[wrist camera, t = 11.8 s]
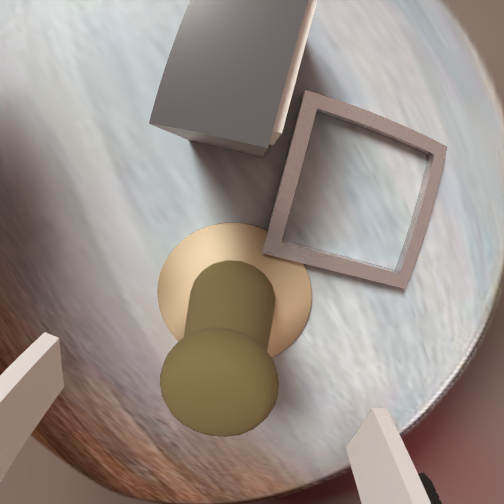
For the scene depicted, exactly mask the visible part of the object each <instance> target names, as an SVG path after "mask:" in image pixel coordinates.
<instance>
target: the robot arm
mask: <svg viewBox="0 0 504 504" xmlns="http://www.w3.org/2000/svg"><path fill="white" fill-rule="evenodd" d="M63 388H64V381H63V373H62V364H61V354H60V342H59V338H58V337H55V336H53V335H50V334H48V333H46V332H44V333H43V334H42V335H41V336H40V337H39V338H38V339H37V340H36V341H35V342H34V343H33V344H31V345H30V346H29V347H28V348H27V349H26V350H25V351H24V352H23V353H22V354H21V355H20V356H19V357H18V358H17V359H16V360H15V361H14V362H13V363H12V364H11V365H10V366H9V367H8V368H7V369H6V370H5V371H4V372H3V373H2V374H1V375H0V482H1V480H2V479H3V477H4V475H5V474H6V472H7V470H8V469H9V467H10V466H11V464H12V462H13V461H14V459H15V458H16V456H17V455H18V453H19V452H20V450H21V449H22V447H23V445H24V444H25V442H26V441H27V439H28V438H29V436H30V435H31V434H32V432H33V431H34V429H35V428H36V426H37V425H38V423H39V422H40V420H41V419H42V417H43V416H44V415H45V413H46V412H47V410H48V409H49V408H50V406H51V405H52V403H53V402H54V400H55V399H56V398H57V396H58V395H59V394H60V392H61V391H62V389H63ZM346 451H347V454H348V458H349V461H350V464H351V468H352V471H353V475H354V478H355V482H356V485H357V489H358V492H359V495H360V499H361V503H362V504H442V503H441V501H440V500H439V496H438V494H437V493H436V490H435V488H434V486H433V483H432V481H431V480H430V479H429V478H428V477H427V476H426V475H425V474H424V473H419V474H418V473H417V471H416V469H415V467H414V465H413V463H412V461H411V458H410V456H409V454H408V452H407V450H406V448H405V446H404V443H403V441H402V439H401V437H400V435H399V433H398V431H397V429H396V427H395V425H394V423H393V421H392V419H391V417H390V415H389V413H388V411H387V409H386V408H372V409H371V410H370V412H369V414H368V415H367V417H366V418H365V420H364V421H363V423H362V424H361V426H360V428H359V429H358V431H357V432H356V434H355V435H354V437H353V438H352V439H351V441H350V442H349V444H348V445H347V447H346Z"/></svg>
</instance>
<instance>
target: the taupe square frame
mask: <svg viewBox="0 0 504 504" xmlns="http://www.w3.org/2000/svg"><path fill="white" fill-rule="evenodd" d="M316 111H318V112H321V113H324V114H327V115H330V116H333V117H336V118H339V119H342V120H345V121H348V122H351V123H354V124H356V125H359V126H362V127H365V128H367V129H370V130H372V131H375V132H378V133H380V134H383V135H385V136H388V137H390V138H393V139H395V140H397V141H400V142H402V143H404V144H407V145H409V146H411V147H413V148H416V149H418V150H420V151H422V152H425V153H427V154H429V156H428V160H427V165H426V169H425V173H424V177H423V181H422V185H421V189H420V193H419V197H418V200H417V204H416V207H415V211H414V214H413V218H412V221H411V224H410V228H409V231H408V234H407V237H406V240H405V243H404V246H403V249H402V252H401V255H400V258H399V261H398V264H397V267H396V270H392V269H389V268H385V267H381V266H378V265H374V264H370V263H367V262H363V261H359V260H356V259H352V258H348V257H344V256H341V255H337V254H333V253H329V252H325V251H322V250H318V249H314V248H310V247H306V246H303V245H299V244H295V243H291V242H287V241H282V238H283V234H284V230H285V227H286V223H287V220H288V216H289V212H290V209H291V205H292V202H293V198H294V194H295V191H296V187H297V183H298V180H299V176H300V172H301V168H302V165H303V161H304V157H305V153H306V149H307V146H308V142H309V138H310V134H311V130H312V126H313V123H314V119H315V115H316ZM446 150H447V146H445V145H443V144H441V143H439V142H437V141H435V140H433V139H431V138H429V137H427V136H425V135H423V134H420V133H418V132H416V131H414V130H412V129H410V128H407V127H405V126H403V125H401V124H398V123H396V122H394V121H391V120H389V119H387V118H384V117H382V116H379V115H377V114H374V113H372V112H369V111H366V110H364V109H361V108H359V107H356V106H353V105H350V104H347V103H345V102H342V101H339V100H336V99H333V98H330V97H327V96H324V95H321V94H317V93H314V92H311V91H308V90H305V92H304V93H303V97H302V101H301V105H300V109H299V113H298V116H297V120H296V124H295V128H294V132H293V136H292V139H291V143H290V147H289V151H288V154H287V158H286V162H285V166H284V170H283V173H282V177H281V181H280V185H279V188H278V192H277V196H276V200H275V203H274V207H273V211H272V214H271V218H270V222H269V226H268V229H267V234H266V238H265V242H264V246H263V249H262V253H263V254H267V255H271V256H275V257H279V258H283V259H287V260H291V261H295V262H299V263H303V264H307V265H311V266H315V267H319V268H323V269H327V270H331V271H335V272H339V273H343V274H347V275H351V276H355V277H359V278H363V279H367V280H371V281H375V282H379V283H383V284H387V285H391V286H395V287H399V288H403V289H406V287H407V284H408V282H409V279H410V276H411V273H412V271H413V268H414V265H415V262H416V260H417V257H418V254H419V251H420V248H421V245H422V242H423V239H424V235H425V232H426V229H427V226H428V222H429V219H430V216H431V212H432V209H433V205H434V201H435V198H436V194H437V190H438V186H439V182H440V178H441V173H442V169H443V165H444V160H445V155H446Z"/></svg>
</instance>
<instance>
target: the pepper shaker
mask: <svg viewBox="0 0 504 504" xmlns="http://www.w3.org/2000/svg"><path fill="white" fill-rule="evenodd" d="M275 298H276V297H275V293H274V290H273V286H272V284H271V282H270V281H269V279H268V278H267V277H266V275H265V274H264V273H263V272H261V271H260V270H259V269H258V268H256V267H255V266H253V265H251V264H248V263H245V262H242V261H232V260H226V261H222V262H218V263H214V264H212V265H210V266H209V267H207V268H206V269H204V270H203V271H202V272H201V273H200V274H199V275H198V277H197V278H196V279H195V281H194V283H193V286H192V289H191V292H190V298H189V304H188V311H187V317H186V324H185V331H184V338H182V339H181V340H180V341H179V342H178V343H177V344H176V345H175V346H174V347H173V349H172V350H171V351H170V352H169V353H168V355H167V357H166V359H165V361H164V364H163V368H162V371H161V375H160V385H161V392H162V397H163V399H164V401H165V403H166V405H167V407H168V408H169V410H170V412H171V414H172V415H173V416H174V417H175V418H176V419H177V420H178V421H180V422H181V423H182V424H183V425H185V426H187V427H189V428H190V429H192V430H194V431H197V432H200V433H203V434H207V435H211V436H224V437H226V436H233V435H240V434H242V433H245V432H247V431H250V430H252V429H254V428H255V427H256V426H258V425H259V424H260V423H261V422H263V421H264V420H265V419H266V418H267V417H268V415H269V414H270V412H271V410H272V409H273V407H274V405H275V403H276V399H277V394H278V386H279V382H278V375H277V372H276V368H275V365H274V362H273V360H272V358H271V357H270V355H269V354H268V353H267V350H268V344H269V339H270V333H271V327H272V322H273V316H274V310H275Z"/></svg>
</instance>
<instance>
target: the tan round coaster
mask: <svg viewBox="0 0 504 504" xmlns="http://www.w3.org/2000/svg"><path fill="white" fill-rule="evenodd" d="M266 234H267V230H265V229H263V228H260V227H257V226H254V225H249V224H244V223H220V224H216V225H211V226H208V227H205V228H203V229H200V230H198V231H196V232H194V233H192V234H191V235H189V236H188V237H186V238H185V239H184V240H182V241H181V242H180V243H179V244H178V245H177V246H176V247H175V248H174V249H173V251H172V252H171V253H170V255H169V256H168V258H167V259H166V261H165V263H164V265H163V268H162V270H161V273H160V277H159V281H158V303H159V308H160V311H161V314H162V317H163V320H164V322H165V324H166V326H167V327H168V329H169V330H170V332H171V333H172V335H173V336H174V337H175V338H176V339H177V340H178V341H180V340H181V339H182V338H184V331H185V324H186V317H187V311H188V304H189V298H190V292H191V289H192V286H193V283H194V281H195V279H196V278H197V277H198V275H199V274H200V273H201V272H202V271H203V270H204V269H206V268H207V267H209V266H210V265H212V264H214V263H218V262H222V261H226V260H232V261H242V262H245V263H248V264H251V265H253V266H255V267H256V268H258V269H259V270H260V271H261V272H263V273H264V274H265V275H266V277H267V278H268V279H269V281H270V282H271V284H272V286H273V290H274V293H275V297H276V298H275V310H274V316H273V322H272V327H271V333H270V339H269V344H268V350H267V353H268V354H269V355H270V357H271V358H272V357H273V356H275V355H277V354H279V353H280V352H282V351H283V350H284V349H286V348H287V347H288V346H289V345H290V344H291V343H292V342H294V340H295V339H296V338H297V337H298V335H299V334H300V333H301V331H302V329H303V328H304V326H305V324H306V321H307V319H308V316H309V312H310V308H311V301H312V295H311V285H310V280H309V277H308V273H307V271H306V269H305V267H304V265H303V263H299V262H295V261H291V260H287V259H283V258H279V257H275V256H271V255H267V254H263V253H262V249H263V246H264V242H265V238H266ZM282 241H284V240H283V239H282Z"/></svg>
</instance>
